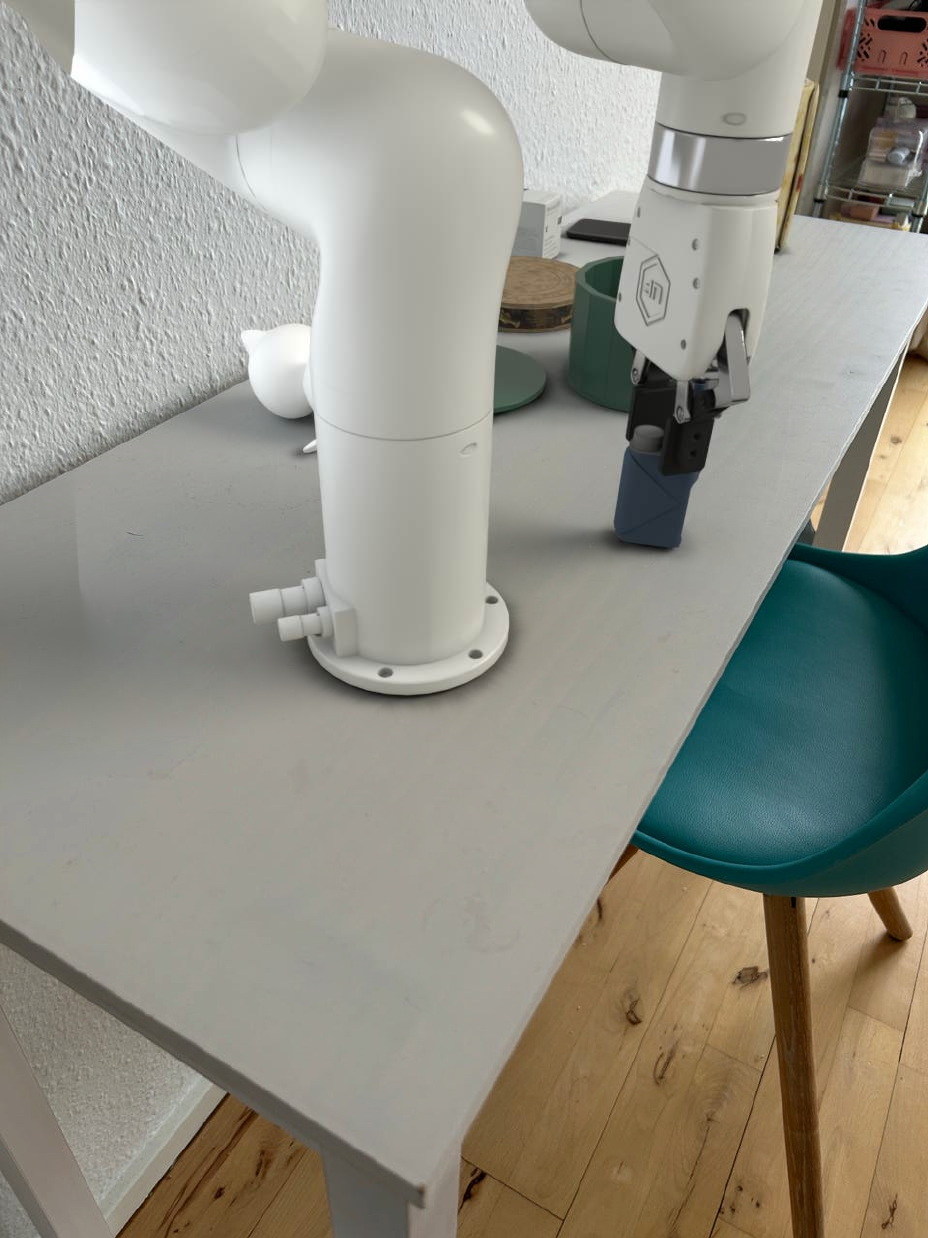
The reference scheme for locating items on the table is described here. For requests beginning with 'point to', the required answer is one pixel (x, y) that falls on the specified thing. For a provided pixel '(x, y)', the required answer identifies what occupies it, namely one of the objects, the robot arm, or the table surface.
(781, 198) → the food model
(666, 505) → the vaping device
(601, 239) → the smartphone
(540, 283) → the round wooden disc
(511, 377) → the tin lid
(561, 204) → the white cardboard box
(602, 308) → the waste tin
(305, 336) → the cat figurine
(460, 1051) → the table surface
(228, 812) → the table surface
